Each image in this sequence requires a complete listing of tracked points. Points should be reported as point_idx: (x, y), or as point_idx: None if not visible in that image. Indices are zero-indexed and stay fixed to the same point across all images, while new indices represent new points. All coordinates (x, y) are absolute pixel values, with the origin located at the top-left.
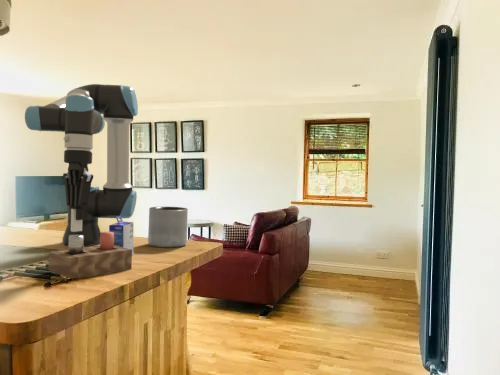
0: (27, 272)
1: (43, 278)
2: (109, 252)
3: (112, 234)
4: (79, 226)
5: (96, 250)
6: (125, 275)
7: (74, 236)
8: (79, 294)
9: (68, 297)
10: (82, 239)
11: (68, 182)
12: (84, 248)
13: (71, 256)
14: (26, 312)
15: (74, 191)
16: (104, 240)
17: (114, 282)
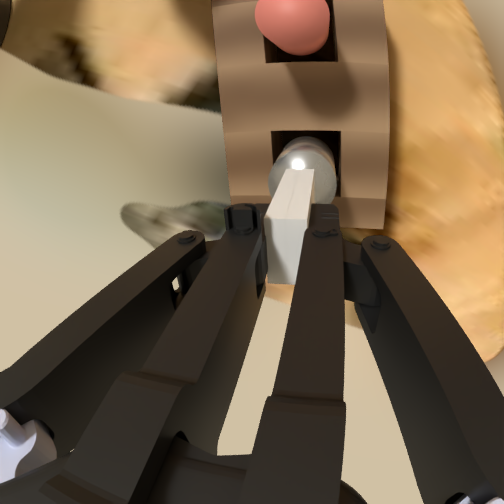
0: (218, 235)
1: None
2: (384, 66)
3: (326, 4)
4: (313, 192)
5: (312, 80)
6: (435, 61)
7: (320, 203)
8: (486, 249)
9: (482, 272)
10: (332, 165)
11: (83, 418)
12: (239, 96)
13: (361, 210)
14: (478, 341)
15: (233, 370)
16: (318, 44)
17: (475, 135)
